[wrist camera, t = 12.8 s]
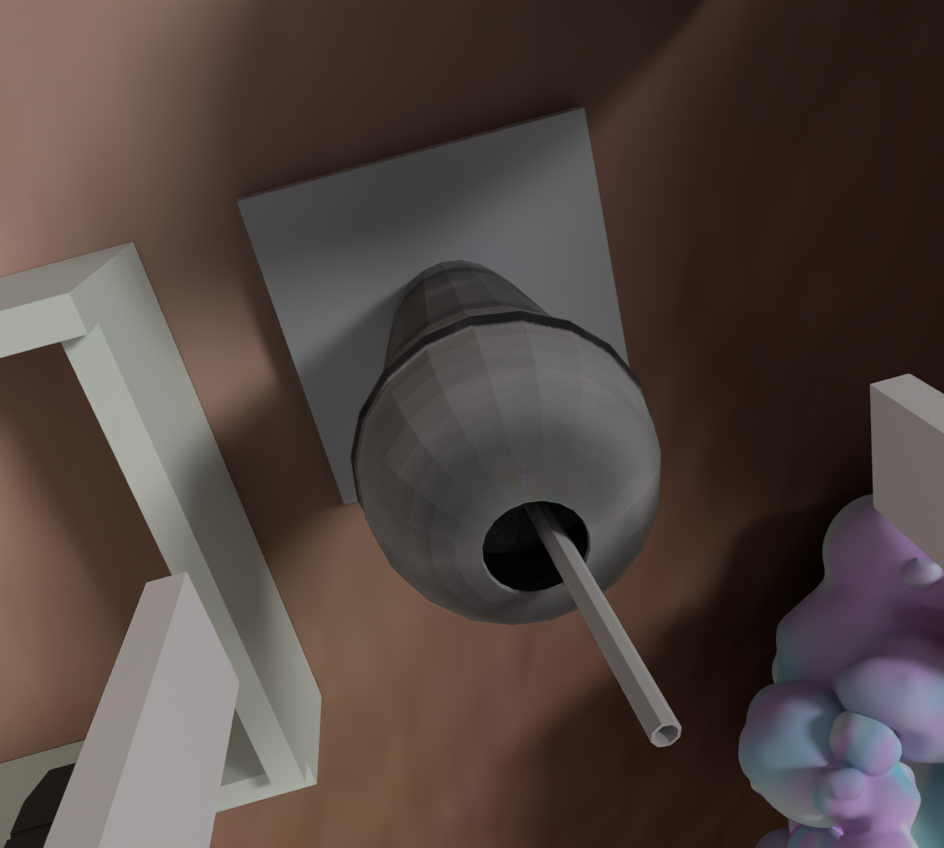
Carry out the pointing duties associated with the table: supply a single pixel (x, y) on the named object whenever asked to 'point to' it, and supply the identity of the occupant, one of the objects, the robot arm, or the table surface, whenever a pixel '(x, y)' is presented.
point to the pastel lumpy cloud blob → (856, 698)
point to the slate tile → (428, 251)
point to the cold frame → (171, 511)
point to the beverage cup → (510, 465)
